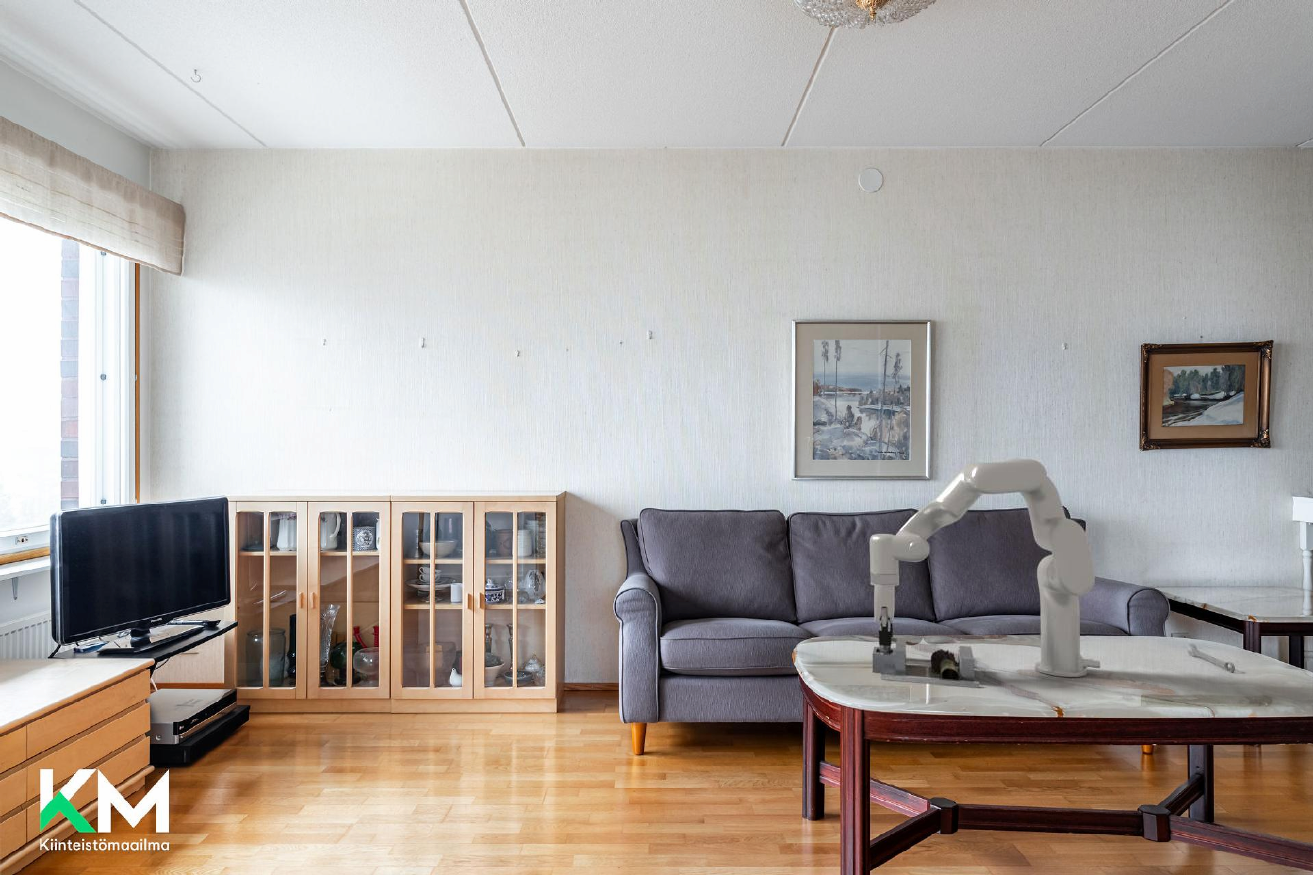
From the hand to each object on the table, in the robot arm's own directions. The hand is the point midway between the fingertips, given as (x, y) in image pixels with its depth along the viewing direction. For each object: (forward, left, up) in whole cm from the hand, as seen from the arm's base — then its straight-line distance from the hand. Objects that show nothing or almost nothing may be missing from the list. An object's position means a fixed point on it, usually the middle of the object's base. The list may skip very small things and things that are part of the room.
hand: (886, 641), depth 216 cm
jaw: (-20, 0, -7) cm, 22 cm away
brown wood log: (-15, 0, -8) cm, 17 cm away
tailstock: (-1, 0, -8) cm, 8 cm away
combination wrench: (-86, -35, -8) cm, 94 cm away
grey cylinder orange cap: (0, 0, -8) cm, 8 cm away
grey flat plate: (-11, 0, -8) cm, 13 cm away
